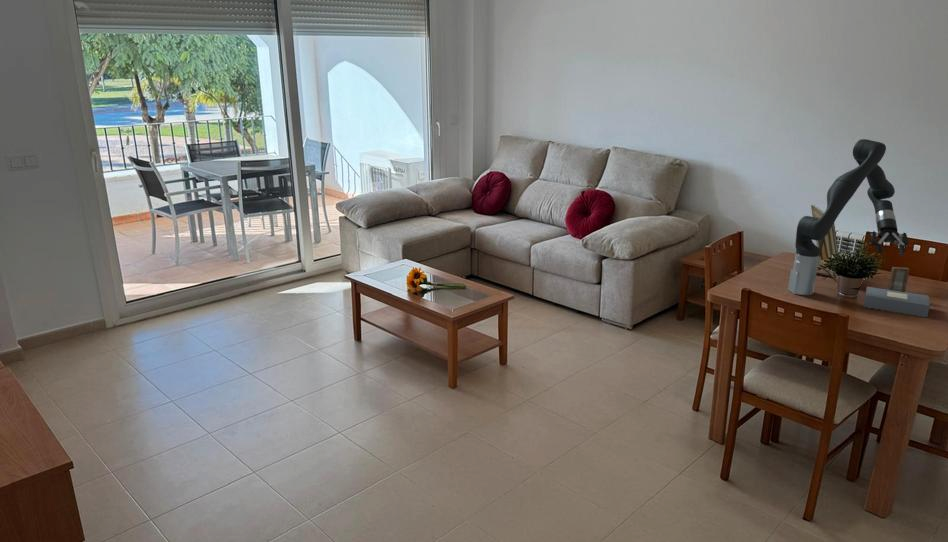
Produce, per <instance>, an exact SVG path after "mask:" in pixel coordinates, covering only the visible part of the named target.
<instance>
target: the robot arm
mask: <svg viewBox="0 0 948 542" xmlns="http://www.w3.org/2000/svg"><path fill="white" fill-rule="evenodd" d="M886 150H887V146H886V144H885V143H884V142H880V141H877V140H876V141H874V140H870V139H865V138H862V139H859V140H857V142H856V143H855V144H854V146H853V147H852V156H853V158H854V160H855V162H856V163H857V165H858V166H857V167H855V168H853V169H851V170H849V171H848V172H845V173H842V175H839V176H838V177H837V178H836V179H835V180H834V181H833V183H832V184H831V186H830V187H829V189H828V191H827V194H826V209H825V211H824V212H825V213H824V214H823V216H822V217H821V218H815V217H813V216H812V215H803V216H802V217H800V220H799V221H798V223H797V227H796V234H795V243H794V244H795V255H794V256H795V257H794V263H793V269H792V268H791V270H790V273H789V275H790V276H789V279H788V280H789V281H788V288H787V290H788V291H789V292H791V293H792V294H793V295H800V296H812V295H814V290H815V286H816V285H815V284H816V278H817V271H818V268H819V263H818V261H819V255H820V249H819V248H818V247H817V244H815V243H814V242H813V241H816V240H817V241H819V240H822V239H823V238H824V237H825V236H826V235H827V234H828V232H829V230H830V229H831V227H832V225H833V224H834V225H835V222H836V220H837V218H838V217H839V216H840V213H841V212H842V210H844V208H845V207H846V205H847V204H848V202H850V200H851V199H852V197H853V196H854V194H855V193H856V191H858V189H859V187H860V186H861V185H862V183H863V181H864V180H865V179H866V180H867V183H868V185H869V187H868V189H867V193H866V194H867V196H868V199H869V200H870V201H871V203H872V204H873V205H872V206H873V208H874V213H875V223H876V228H877V232H876V231H875V230H873V231H872V232H871V233H870V244H871V246H876V251H877V254H880V255H881V254H882V253H883V252H884V251H883V246H882V243H886V244H887V243H890V244H894V245H895V246H897V247H898V251H899V255H900V256H904V254H905V252H906V247H907V246H909V244H910V242H909V239H908V234H907V233H906V232H903V233H899V232H898V226H897V225H898V224H897V220H896V219H897V218H896V215H895V213H894V207H893V203H892V201H891V200H888V199H890V198H892V197H894V195H895V192H896V190H895V187H894V185H893V184H892V183H891V182H890V181H889V180H888V179H887V177H886V173H885V172H884V170H883V169H882V167H881V166H880V165H879V163H880V162H881V161H882V159H883V157H884V156H885V154H886ZM886 199H887V200H886ZM877 237H878V238H879V240H878V241H877Z"/></svg>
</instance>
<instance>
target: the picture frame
mask: <svg viewBox="0 0 948 542" xmlns="http://www.w3.org/2000/svg"><path fill="white" fill-rule="evenodd" d="M810 207H811V208H810V209H811V214H812V215H811V217H815V218H821V217H822V216H823V214H824V213H825V211H823V210H822V209H820V208H819V207H818V206H816V205H814V204H811V205H810ZM836 233H837V232H836V225H835V223H834V224H833V225H832V227H831V229H830V230H829V232H828V234H827V235H826V236H825V237H824V238H823V239H822V240H819V241H817V240H815V241H816V246H817V247H818V248H819V249H820V255H819V261H818V264H819V265H820V266H821V265H822V264H823V263H824V260H826V259H828V258H829V257H831V255H833V254H838V253H839V248H838V240H837V234H836ZM824 270H825V271H826V272H827V273H828V274H829V275H830V276H831V277H832V278H833V280H835V281H836V282H837V276H836V275H835V273H834V272H833V271H830V270H826V269H824Z"/></svg>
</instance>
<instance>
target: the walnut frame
mask: <svg viewBox="0 0 948 542" xmlns="http://www.w3.org/2000/svg"><path fill="white" fill-rule="evenodd" d="M910 271H911V270H910V268H908V267H897V266H891V272H890V276H889V281H888V286H887V290H893V291H900V292H906V289H907V283H908V278H909V274H910Z"/></svg>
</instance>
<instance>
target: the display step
mask: <svg viewBox="0 0 948 542" xmlns="http://www.w3.org/2000/svg"><path fill="white" fill-rule="evenodd" d="M864 296H865V297H864V301H863V308H865V307H867V308H866V309H871V308H874V309H873V310H878V309H881V310H880V311H884V310H887V311H886V312H890V311H892V313H896V312H897V313H896V314H902V313H903V314H902V315H908V314H910V316H914V315H916V316H915V317H920V316H921V317H922V318H928V315H929V312H930V311H929V310H930V306H931V305H930V304H931V303H930V295H927V294H918V293H911V292H906V291H905V292H900V291H893V290H888V288H886V289H885V288H878V287H873V286H866V289H865V295H864ZM921 317H920V318H921Z"/></svg>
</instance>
